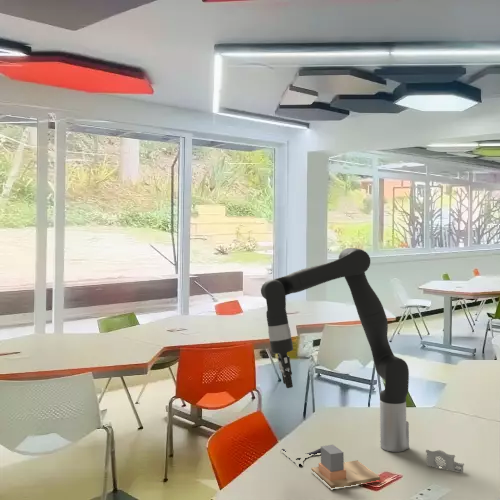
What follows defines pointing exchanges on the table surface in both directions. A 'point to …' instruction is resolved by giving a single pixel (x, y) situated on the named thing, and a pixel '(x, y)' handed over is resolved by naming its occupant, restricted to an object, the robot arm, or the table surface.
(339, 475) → the block
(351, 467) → the oak board
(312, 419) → the table surface
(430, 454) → the garden wall model
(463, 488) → the table surface
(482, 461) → the table surface
